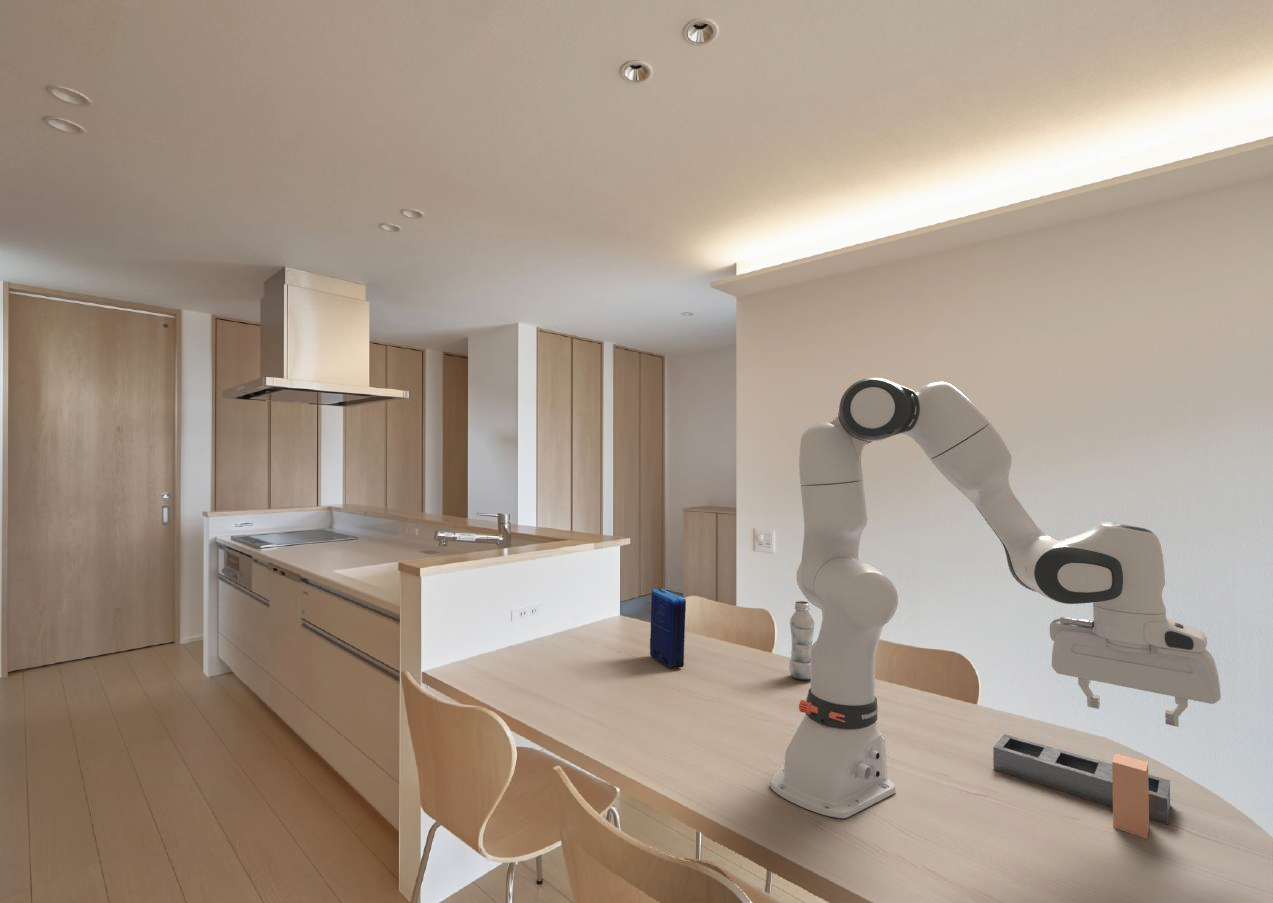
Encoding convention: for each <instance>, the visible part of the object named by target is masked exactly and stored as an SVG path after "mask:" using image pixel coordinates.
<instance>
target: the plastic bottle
mask: <svg viewBox="0 0 1273 903" xmlns="http://www.w3.org/2000/svg"><path fill="white" fill-rule="evenodd" d="M794 610H795V611H794V613H793V614H792V616H791V617H790V619H789V625H790V626H789V627H790V634H791V651H790V654H791V655H790V660H789V667H788V668H789V673H790V675H791V677H793V678H794V679H797V680H802V681H803V680H804V681H805V680H808V681H809V680H811V648H812V645H813V637H814V630H815V620H814V619H813V617H812V615H811V614H810V612H809V611H810V602H809V601H805V600H804V601H802V600H797V601H795V602H794Z"/></svg>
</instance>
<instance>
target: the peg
mask: <svg viewBox="0 0 1273 903" xmlns="http://www.w3.org/2000/svg"><path fill="white" fill-rule="evenodd" d="M1111 764H1112V777H1113V807H1112V828H1114V829H1117V830H1121V831H1124V832H1126V833H1128V834H1132V835H1135V836H1139V837H1141V838H1144V839H1148V835H1149V831H1150V819H1149V781H1148V774H1149V762H1148V761H1145V760H1141V759H1137V758H1134V757H1131V756H1130V757H1129V756H1127V755H1122V754H1119V753H1114V756H1113V759H1112V762H1111Z"/></svg>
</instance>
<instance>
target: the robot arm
mask: <svg viewBox="0 0 1273 903" xmlns="http://www.w3.org/2000/svg"><path fill="white" fill-rule="evenodd" d="M900 434H903V435H906V436H908V437H909V438H911V439H913V441H914V442H916V444H918V446H919V447H920V448H921V449H922V450H923V453H924V454H926V456H927V457H928V459H929V460H930V461H931V463H932V464H933V465H934V467H935V468H936V469H937V470H938V471H939V472H940V473H941V475H943V477H944V478H946V480H947V481H948V482H950V484H951V485H952V486H954V487H955V488H956V489H957V490H958V491H960V493H961V494H962V495H964V496H965V497H966V498H967V499H968V500H969V501H970V502H971V503H972V504H973V505H974V506H975V508H976V509H977V510H978V512H979V513H980V515H981V516H982V517H983V518H984V519H983V520H985V521H986V523H987V524H988V525H989V527H990V528H991V529H992V531H993V532H994V533H995V536H997V538H998V539H999V542H1001V545H1002V546H1003V548H1004V552H1005V556H1006V561H1007V566H1008V569H1009V571H1010V574H1011V576H1012V577H1013V578H1014V580H1016V582H1017V583H1018V584H1019V585H1021V586H1022V587H1024V588H1025V589H1027V590H1030V591H1032V592H1036V593H1038V594H1040V595H1041V596H1043V597H1045V598H1047V599H1050V600H1052V601H1054V602H1057V603H1060V604H1066V605H1077V604H1078V605H1079V604H1080V605H1081V604H1091V603H1092V610H1093V612H1092V614H1093V620H1087V619H1075V618H1070V617H1065V616H1064V617H1063V616H1062V617H1059V618H1056V619H1054V620H1052V621H1051V623H1050V624H1049V636H1050V638H1051V640H1052V641H1053V646H1052V651H1051V652H1052V653H1051V668H1052V669H1053V670H1054V671H1055V673H1056V674H1058V675H1064V676H1068V677H1074V678H1077V684H1078V686H1079V687H1080V690H1082V693H1083V694H1084V695H1085V696H1086V703H1087V704H1086V706H1087V708H1092V709H1098V710H1099V709H1100V706H1101V702H1100V701H1101V695H1098V694H1094V692H1093V690H1091V688H1090V684H1091V681H1095V682H1099V683H1103V684H1109V685H1113V686H1119V687H1123V688H1128V689H1134V690H1139V691H1144V692H1150V693H1154V694H1160V695H1165V696H1168V697H1169V696H1170V697H1174V704H1176V706H1175V708H1173V710H1169V709H1165V713H1164V717H1165V725H1168V726H1172V727H1177V728H1179V726H1180V716H1181V714H1182V713H1183V712H1184V711H1185V710H1186V709H1187V708H1188V707H1189V701H1190V700H1191V701H1194V702H1200V703H1204V704H1210V705H1214V704H1216V703H1218V702H1219V701H1220V700H1221V699H1222V696H1221V695H1222V693H1221V683H1220V678H1219V672H1218V669H1217V665H1216V662H1215V658H1214V656H1213V655H1212V653H1211V652H1210V651H1209V650H1207V649H1206V648H1207V645H1208V638H1207V636H1206V633H1204V632H1203V631H1202V630H1200V629H1198V628H1195V627H1192V626H1190V625H1187V624H1184V623H1181V622H1179V621H1178V622H1177V621H1175V620H1172V619H1170V618H1167V610H1166V609H1167V608H1166V605H1165V604H1164V600H1163V590H1164V588H1165V584H1166V578H1165V576H1166V575H1165V562H1164V555H1163V551H1162V550H1163V549H1162V545H1161V542H1160V539H1159V538H1158V536H1157V534H1155V533H1154V532H1153V531H1151V530H1150V529H1147V528H1144V527H1140V526H1135V525H1128V524H1123V523H1117V522H1112V521H1111V522H1110V521H1102V522H1097V524H1095V525H1094V526H1093V527H1091V528H1089V529H1088V530H1085V531H1083V532H1082V533H1079V534H1076V535H1073V536H1071V537H1068V538H1064V539H1060V540H1059V539H1057V538H1055V537H1053V536H1051V535H1049V534H1047V533H1046V532H1045V531H1043V530H1042V529H1041V528H1040V527H1038V525H1037V524H1036V523H1035V521H1034V520H1033V518H1032V516H1030V514H1029V513H1028V511H1027V510H1026V509H1025V507H1024V506H1023V505H1022V503H1021V502H1020V501H1019V499H1018V498H1017V496H1016V495H1015V493H1014V492H1013V490H1012V488H1011V486H1010V480H1009V473H1010V471H1011V467H1012V460H1013V459H1012V454H1011V453H1010V450H1009V448H1008V447H1007V444H1006V443H1005V441H1004V439H1003V437H1002V436H1001V434H1000V433H999V431H998V430H997V429H996V428H995V426H994V425H993V424H992V422H991V421H990V420H989V418H987V416H986V415H985V414H984V413H983V412H982V411H981V410H980V409H979V408H978V407H977V405H976V404H974V403H973V401H971V400H970V398H969V397H967V396H966V395H965V394H964V393H962V392H961V391H960V390H959V389H958V388H957V387H955V386H954V385H952V384H951V383H948V382H946V381H934V382H930V383H927V384H925V385H923V386H921V387H919V388H917V389H916V390H913V389H911V388H909V387H906V386H904V385H901V384H899V383H896V382H894V381H891V380H889V379H886V378H882V377H867V378H862V379H860V380H857V381H856V382H854V383H852V384H851V385H850V386H849V387H848V388H847V389H846V390H845V391H844V393H843V394H842V396H841V399H840V403H839V407H838V412H837V415H836V417H835V418H833V419H831V420H829V421H824V422H820V423H819V422H818V423H816V424H814V425H812V426H810V427H808V428H807V429H806V430H805V431H803V434H802V435H801V438H800V445H799V446H800V447H799V459H798V460H799V461H798V462H799V463H798V465H799V466H798V467H799V484H800V493H801V494H800V495H801V502H802V503H801V505H802V513H803V543H802V552H801V562H800V563H799V565H798V567H797V571H796V584H797V586H798V588H799V590H800V592H801V593H802V595H803V596H804V597H805V599H806V600H807V602H808V603H809V604H811V605H813V606H814V607H816V608H818V609H820V610H821V615H822V618H821V624H820V629H819V633H818V636H817V639H816V641H814V643H812V648H811V679H810V688H809V689H808V693H807V696H806V700H803V699H801V700H800V701H799V703H798V711H799V712H800V713H805V715H804V716H803V718H802V720H801V722H800V723H799V726H798V728H797V730H796V731H795V733H794V735H793V737H792V739H790V742H789V743H788V746H787V748H786V750H785V756H784V762H783V764H782V765H781V766H780V768H778V769H777V771H776V772H775V774H774V775H773V776H772V777H771V778H770V781H769V787H770V788H771V789H772V791H774V792H775V793H776V794H777V795H778V796H780V797H782V798H783V799H786V800H787V801H789V802H791V803H793V804H795V805H797V806H799V807H801V808H804V809H806V810H809V811H811V812H813V813H814V812H815V813H817V814H820V815H823V816H827V817H832V818H836V819H846V818H850V817H851V816H853V815H855V814H857V813H859V812H861V811H863V810H865V809H866V808H869V807H870V806H873V805H874V804H876V803H878V802H881V801H882V800H885V799H886V798H888V797H890V796H892V795H894V794H895V793H896V785H895V783H894V782H892V780H891V779H890V778H889V777H888V764H887V763H888V761H887V748H886V738H884V736H883V734H882V733H881V731H880V729H879V726H878V725H877V721H878V712H879V705H878V699H877V697H876V696H875V694H876V693H875V691H876V690H875V688H876V687H875V686H876V685H875V684H876V678H875V675H876V656H877V648H878V644H879V642H880V637H881V634H882V632H883V629H884V627H885V625H886V624H888V623H889V622H890V621H891V620H892V619H893V617H894V616H895V614H896V611H897V609H898V605H899V598H898V597H899V596H898V595H899V594H898V592H897V588H896V587H895V584H894V583H893V582H892V581H891V579H889V577H887V576H886V575H885V574H884V573H883V572H881V570H879V569H877V568H876V567H874V565H871V564H868V563H865V562H862V561H860V558H859V548H860V542H861V537H862V533H863V531H864V529H865V528H866V526H867V525H868V524H867V523H868V516H867V514H868V512H867V505H866V504H867V503H866V494H865V487H864V486H865V485H864V478H863V469H862V453H863V450H864V448H865V446H866V445H868V444H870V443H872V442H880V441H882V440H886V439H889V438H891V437H893V436H896V435H900Z"/></svg>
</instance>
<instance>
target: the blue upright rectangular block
mask: <svg viewBox="0 0 1273 903" xmlns="http://www.w3.org/2000/svg"><path fill="white" fill-rule="evenodd" d="M650 603H651V605H650V606H651V607H650V638H649V655H650V656H651V658H653V659H654V660H655V661H657V662H659V663H660V664H662V665H664V666H665V667H667V668H669V669H679V668H684V665H685V661H684V660H685V636H686V634H685V632H686V631H685V630H686V612H687V611H686V610H687V609H686V608H687V601H686V598H685V597H684V596H680V595H677V594H675V593H672V592H670V591H668V590H665V589H664V588H655V589H652V590H651V602H650Z"/></svg>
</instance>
